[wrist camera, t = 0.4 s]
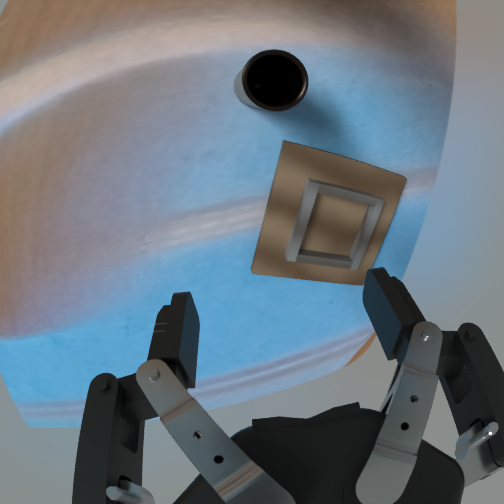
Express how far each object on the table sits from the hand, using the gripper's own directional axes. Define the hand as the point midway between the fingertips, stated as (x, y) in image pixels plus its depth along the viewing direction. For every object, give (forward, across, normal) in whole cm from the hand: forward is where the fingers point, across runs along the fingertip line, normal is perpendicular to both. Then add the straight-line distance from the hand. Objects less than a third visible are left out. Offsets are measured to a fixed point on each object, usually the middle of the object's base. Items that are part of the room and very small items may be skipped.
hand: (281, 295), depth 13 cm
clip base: (+20, -8, +8) cm, 23 cm away
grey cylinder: (+21, -1, -8) cm, 22 cm away
